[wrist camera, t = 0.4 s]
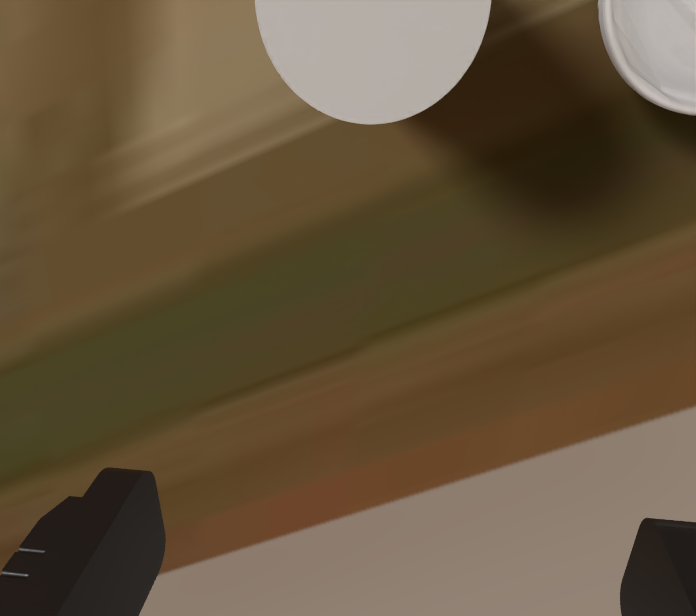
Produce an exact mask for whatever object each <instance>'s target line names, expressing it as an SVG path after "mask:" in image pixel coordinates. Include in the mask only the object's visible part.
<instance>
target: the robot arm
mask: <svg viewBox="0 0 696 616" xmlns="http://www.w3.org/2000/svg"><path fill="white" fill-rule="evenodd" d="M165 541H166V538H165V529H164V524H163V519H162V513H161V508H160V503H159V497H158V492H157V487H156V481H155V477H154V475H153V473H152V472H150V471H142V470H131V469H120V468H109V467H108V468H105V469H103V470H102V471H101V472H100V473H99V474H98V476H97V477H96V478H95V480H94V481H93V483H92V484H91V486H90V487H89V489H88V490H87V491H86V493H85V494H84V496H83V497H73V496H69V497H68V498H67V499H65V500H64V501H63V502H61V503H60V504H59V505H57V506H56V507H55V508H54V509H52V510H51V511H50V512H48V513H47V514H46V515H44V516H43V517H42V518H40V520H39V521H38V522H37V524H36V525H35V526H34V528H33V529H32V530H31V532H30V533H29V534H28V536H27V537H26V538H25V540H24V541H23V542H22V544H21V545H20V546H19V547H20V548H19V551H18V552H15V553H14V554H13V556H12V557H11V558H10V560H9V561H8V563H7V564H6V565H5V567H4V568H3V569H2V574H1V576H0V616H139V613H140V611H141V609H142V607H143V605H144V603H145V601H146V598H147V596H148V594H149V592H150V590H151V588H152V586H153V584H154V581H155V579H156V577H157V575H158V573H159V570H160V568H161V565H162V561H163V557H164V551H165ZM620 605H621V614H622V616H696V522H685V521H674V520H663V519H652V518H645V519H644V520H643V521H642V522H641V524H640V527H639V529H638V532H637V536H636V539H635V542H634V545H633V548H632V551H631V554H630V558H629V561H628V564H627V567H626V570H625V573H624V576H623V579H622V583H621V590H620Z"/></svg>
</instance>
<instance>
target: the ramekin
mask: <svg viewBox="0 0 696 616" xmlns="http://www.w3.org/2000/svg"><path fill="white" fill-rule="evenodd" d="M598 9H599V23H600V29H601V34H602V38H603V41H604V45H605V48H606V50H607V53H608V55H609V57H610V60H611V61H612V63H613V65H614V67H615V68H616V70H617V71H618V73H619V74H620V76H621V77H622V78H623V79H624V80H625V82H626V83H627V84H628V85H629V86H630V87H631V88H632V89H633V90H635V91H636V92H637V93H638V94H639V95H641V96H642V97H643V98H645V99H646V100H648V101H650V102H651V103H653V104H655V105H657V106H660V107H662V108H665V109H667V110H670V111H673V112H677V113H682V114H687V115H694V116H696V0H598Z"/></svg>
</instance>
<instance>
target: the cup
mask: <svg viewBox="0 0 696 616" xmlns="http://www.w3.org/2000/svg"><path fill="white" fill-rule="evenodd" d="M255 6H256V15H257V21H258V26H259V30H260V34H261V37H262V40H263V43H264V46H265V48H266V51H267V53H268V55H269V57H270V59H271V61H272V63H273V65H274V66H275V68H276V70H277V71H278V73H279V74H280V76H281V77H282V78H283V80H284V81H285V82H286V83H287V84H288V86H289V87H290V88H291V89H292V90H293V91H294V92H295V93H296V94H297V95H298V96H299V97H300V98H302V99H303V100H304V101H305V102H307V103H308V104H309V105H311V106H312V107H314V108H316V109H317V110H319V111H321V112H323V113H325V114H327V115H329V116H332V117H334V118H337V119H340V120H343V121H347V122H352V123H359V124H383V123H390V122H395V121H399V120H402V119H405V118H408V117H411V116H413V115H415V114H418V113H420V112H421V111H423V110H425V109H427V108H428V107H430V106H432V105H433V104H435V103H436V102H437V101H439V100H440V99H441V98H442V97H443V96H445V95H446V94H447V93H448V92H449V91H450V90H451V89H452V88H453V87H454V86H455V85H456V84H457V82H458V81H459V80H460V79H461V78H462V76H463V75H464V74H465V72H466V71H467V69H468V68H469V66H470V65H471V63H472V61H473V59H474V57H475V56H476V54H477V52H478V49H479V47H480V45H481V42H482V40H483V37H484V34H485V31H486V27H487V23H488V19H489V14H490V7H491V0H255Z"/></svg>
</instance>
